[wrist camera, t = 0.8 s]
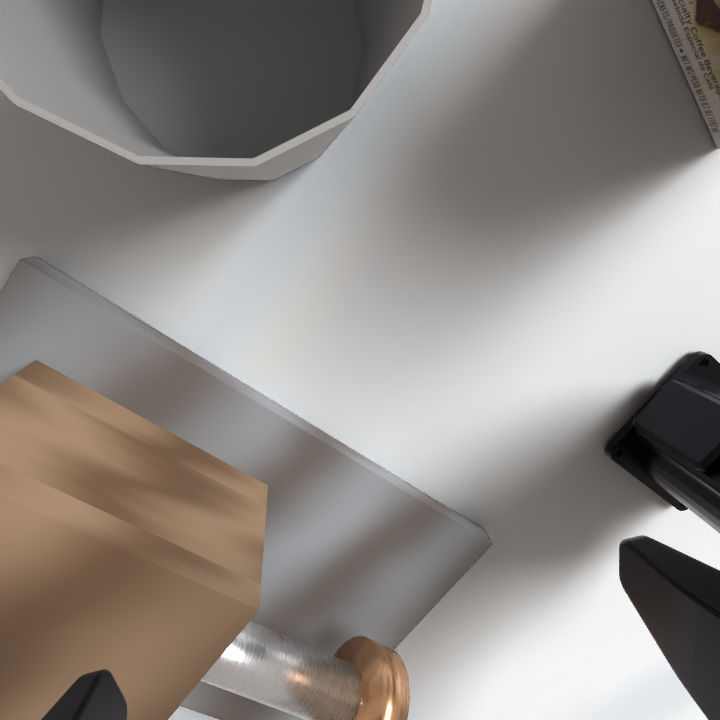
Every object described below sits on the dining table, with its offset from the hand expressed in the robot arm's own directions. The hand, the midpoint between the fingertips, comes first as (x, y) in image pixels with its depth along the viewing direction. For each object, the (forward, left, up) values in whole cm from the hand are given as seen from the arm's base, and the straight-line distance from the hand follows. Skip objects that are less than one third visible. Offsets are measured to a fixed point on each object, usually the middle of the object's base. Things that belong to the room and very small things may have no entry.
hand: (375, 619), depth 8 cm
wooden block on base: (0, +11, -13) cm, 16 cm away
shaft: (-3, +11, -11) cm, 15 cm away
